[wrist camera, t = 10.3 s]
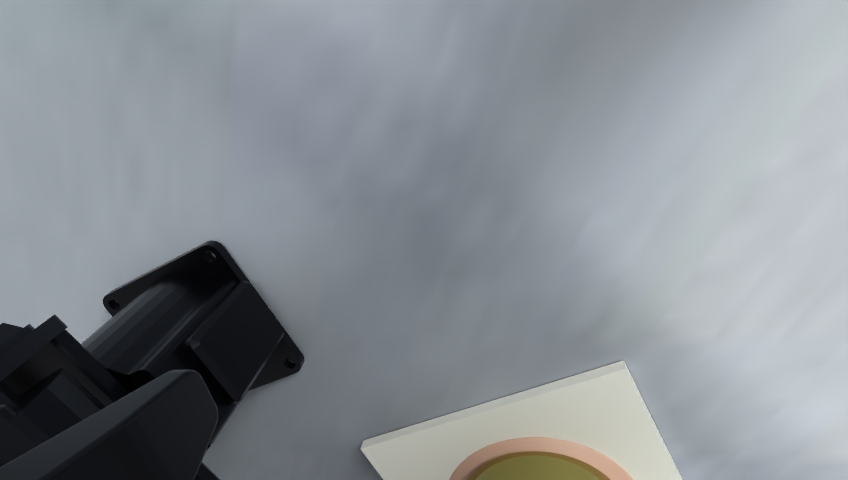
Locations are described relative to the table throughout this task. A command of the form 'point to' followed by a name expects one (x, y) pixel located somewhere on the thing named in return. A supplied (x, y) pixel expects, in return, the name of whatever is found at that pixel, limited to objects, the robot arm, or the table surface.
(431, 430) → the card
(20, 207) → the table surface
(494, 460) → the brass door knob
